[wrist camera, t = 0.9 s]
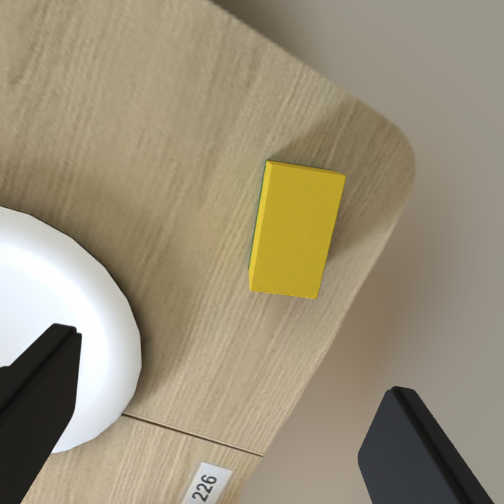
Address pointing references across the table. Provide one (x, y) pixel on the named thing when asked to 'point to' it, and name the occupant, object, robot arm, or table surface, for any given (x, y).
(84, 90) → the table surface
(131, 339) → the plate
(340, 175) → the sponge
